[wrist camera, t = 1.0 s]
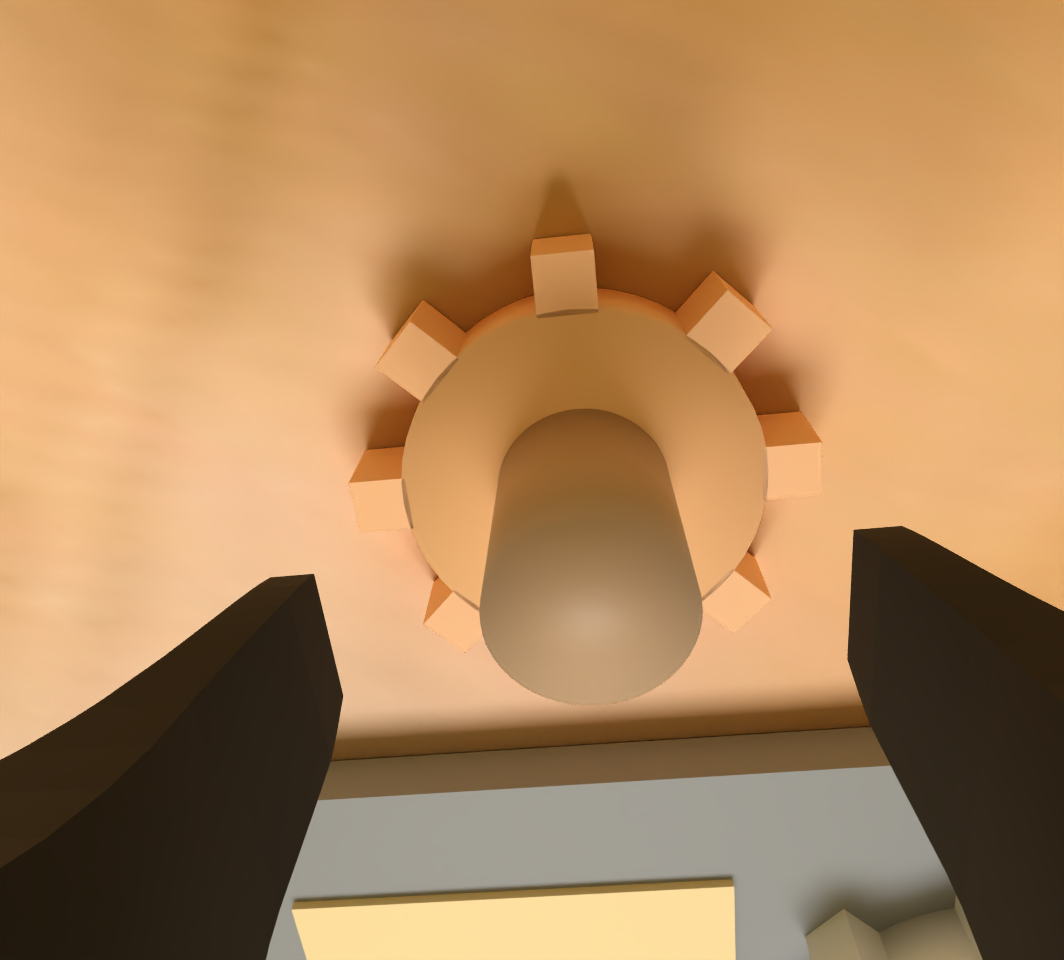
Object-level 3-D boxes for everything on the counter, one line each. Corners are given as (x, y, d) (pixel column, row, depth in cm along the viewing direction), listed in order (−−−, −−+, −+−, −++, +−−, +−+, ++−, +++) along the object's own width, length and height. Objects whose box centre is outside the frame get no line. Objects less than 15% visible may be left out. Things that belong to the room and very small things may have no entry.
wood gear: (805, 210, 15) (925, 282, 10) (796, 620, 18) (884, 825, 14) (327, 260, 16) (218, 351, 11) (405, 648, 19) (350, 855, 14)
